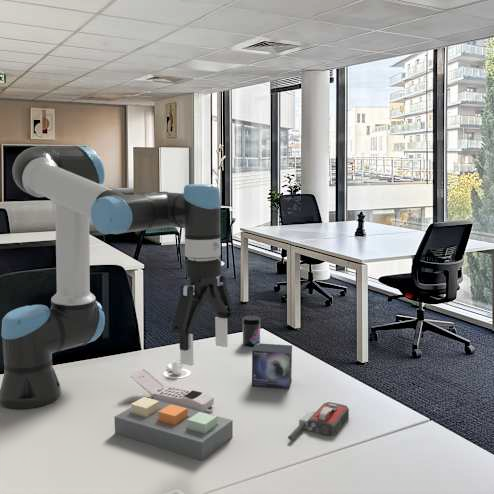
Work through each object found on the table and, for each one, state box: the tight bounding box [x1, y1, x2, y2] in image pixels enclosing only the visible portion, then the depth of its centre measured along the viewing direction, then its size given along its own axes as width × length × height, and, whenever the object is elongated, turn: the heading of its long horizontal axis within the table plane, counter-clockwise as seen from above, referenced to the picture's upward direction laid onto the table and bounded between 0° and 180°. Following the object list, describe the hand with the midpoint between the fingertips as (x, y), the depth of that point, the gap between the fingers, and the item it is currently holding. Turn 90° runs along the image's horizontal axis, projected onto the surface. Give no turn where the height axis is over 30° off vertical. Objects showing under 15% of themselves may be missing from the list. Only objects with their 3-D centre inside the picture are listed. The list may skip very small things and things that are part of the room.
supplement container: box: [242, 315, 261, 347], centre depth 197 cm, size 6×6×9 cm
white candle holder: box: [162, 359, 192, 380], centre depth 171 cm, size 9×8×4 cm
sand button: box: [130, 396, 160, 417], centre depth 137 cm, size 5×5×4 cm
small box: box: [251, 342, 293, 390], centre depth 163 cm, size 11×6×10 cm, turn 80°
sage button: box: [188, 412, 218, 434], centre depth 129 cm, size 5×5×4 cm
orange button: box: [158, 404, 187, 425], centre depth 133 cm, size 5×5×4 cm
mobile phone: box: [129, 368, 215, 415], centre depth 152 cm, size 6×6×25 cm
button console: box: [114, 397, 234, 461], centre depth 133 cm, size 24×12×4 cm, turn 60°
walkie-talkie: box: [287, 401, 350, 441], centre depth 137 cm, size 9×4×20 cm
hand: (205, 354), depth 128 cm, fingers open, 13 cm apart
